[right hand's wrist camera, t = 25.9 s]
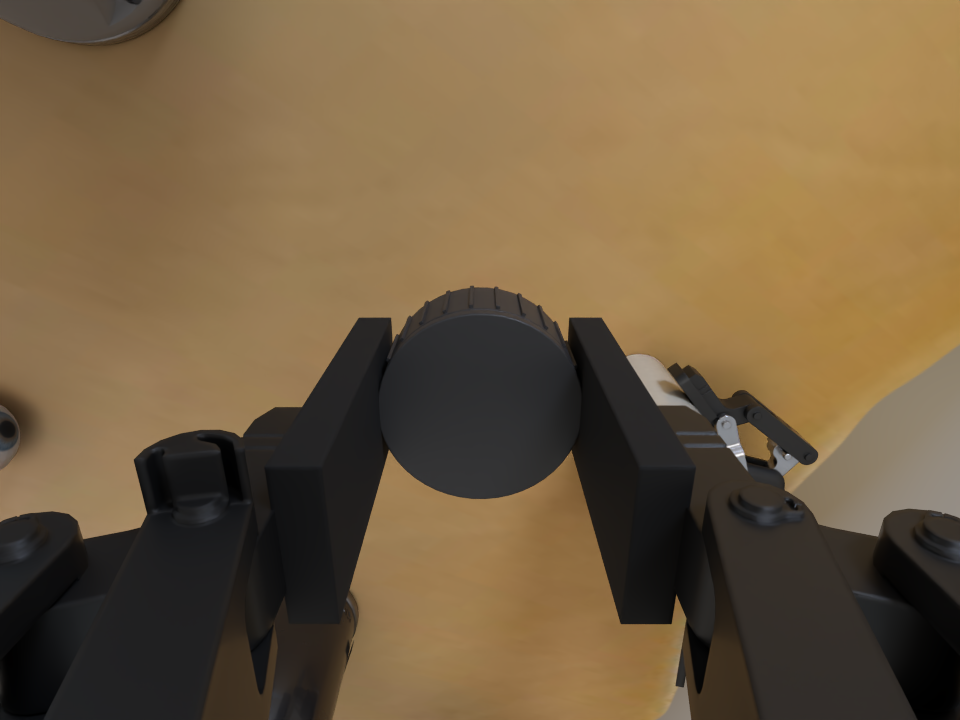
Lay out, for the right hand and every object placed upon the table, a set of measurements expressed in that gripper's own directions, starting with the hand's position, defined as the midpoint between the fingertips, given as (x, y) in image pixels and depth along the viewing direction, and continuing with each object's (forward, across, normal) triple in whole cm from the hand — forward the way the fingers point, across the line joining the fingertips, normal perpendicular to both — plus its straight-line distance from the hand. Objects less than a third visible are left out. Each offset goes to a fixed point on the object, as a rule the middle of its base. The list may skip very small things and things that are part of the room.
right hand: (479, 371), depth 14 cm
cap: (-2, 0, 0) cm, 2 cm away
